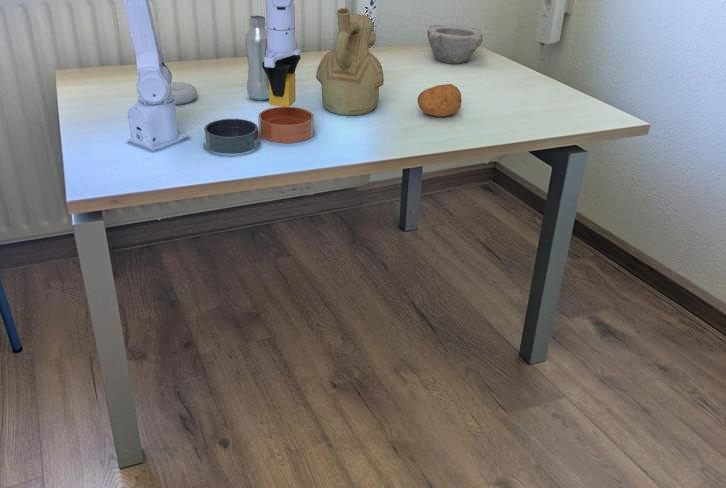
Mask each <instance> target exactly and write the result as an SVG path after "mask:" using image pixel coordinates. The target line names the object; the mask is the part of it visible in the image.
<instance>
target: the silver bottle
mask: <svg viewBox="0 0 726 488" xmlns="http://www.w3.org/2000/svg"><path fill="white" fill-rule="evenodd" d="M249 26H250V28H248V29H249V30H248V31H247V33H246V35H245V37H244V44H245V49H246V55H247V65H248V68H247V81H246V92H247V95H248V97H249V98H250V99H252V100H256V101H263V100H269V79H268V76H267V74H266V72H265V71H264V69H263V68H262V62H264V57H265V56H266V49H267V28H266V27H267V22H266V16H264V15H251V16H249Z"/></svg>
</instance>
